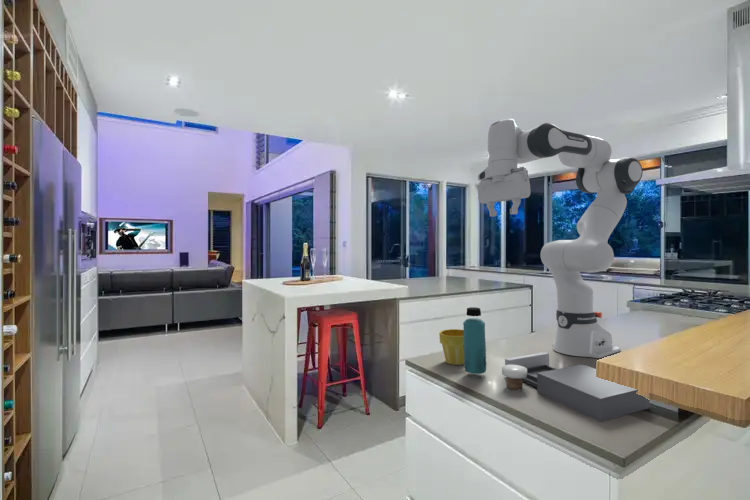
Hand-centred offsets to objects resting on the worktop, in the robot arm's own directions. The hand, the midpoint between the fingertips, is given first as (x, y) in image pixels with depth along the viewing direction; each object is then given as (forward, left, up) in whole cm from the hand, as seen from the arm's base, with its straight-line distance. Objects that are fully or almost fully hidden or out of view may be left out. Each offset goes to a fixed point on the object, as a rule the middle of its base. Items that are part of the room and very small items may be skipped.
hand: (503, 215), depth 122 cm
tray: (0, +18, -47) cm, 50 cm away
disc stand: (+11, +17, -47) cm, 51 cm away
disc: (+11, +17, -44) cm, 48 cm away
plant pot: (+13, -8, -48) cm, 50 cm away
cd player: (0, +31, -47) cm, 57 cm away
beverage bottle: (+15, +5, -48) cm, 50 cm away
